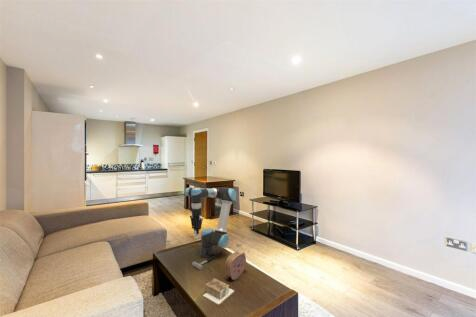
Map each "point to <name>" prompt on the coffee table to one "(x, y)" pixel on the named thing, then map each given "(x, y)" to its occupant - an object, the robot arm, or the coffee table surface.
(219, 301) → the felt mat
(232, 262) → the face sculpture
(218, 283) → the wooden block
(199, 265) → the rubber mallet
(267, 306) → the coffee table surface
